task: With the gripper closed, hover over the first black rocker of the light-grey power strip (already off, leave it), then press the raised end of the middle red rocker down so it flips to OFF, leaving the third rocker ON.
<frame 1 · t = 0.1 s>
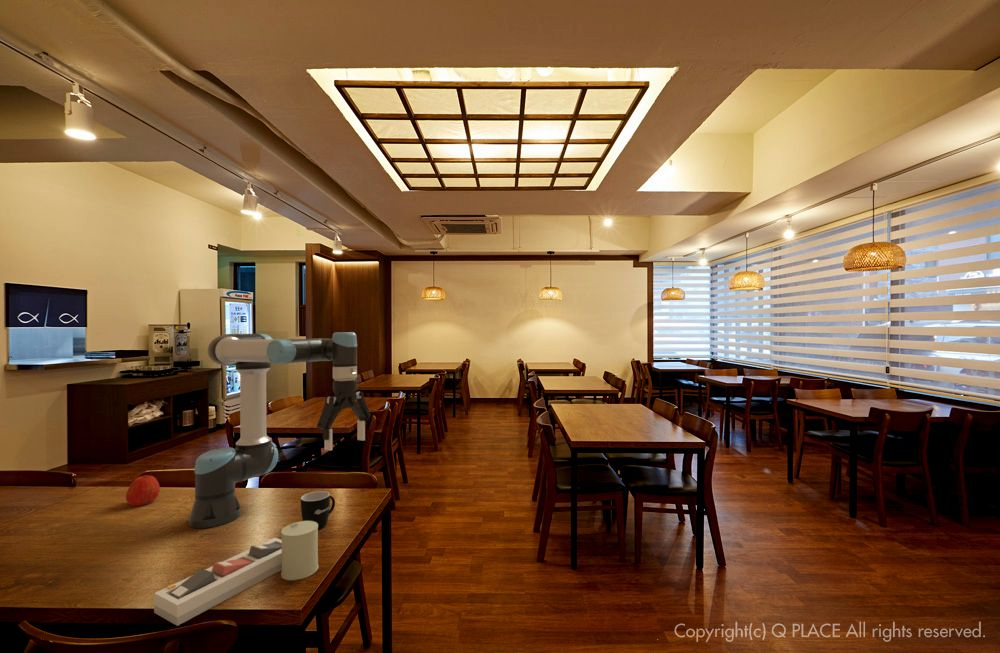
hand: (345, 444, 139), 28 cm above the table, fingers open, 13 cm apart
rocker mid: (233, 566, 110), point 5 cm above the table, hinge at 18.0°
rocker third: (267, 549, 118), point 5 cm above the table, hinge at 18.0°
can: (300, 571, 116), on the table
apple: (143, 503, 165), on the table
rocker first: (192, 585, 102), point 5 cm above the table, hinge at -18.0°
strip: (233, 584, 110), on the table
mug: (319, 525, 144), on the table
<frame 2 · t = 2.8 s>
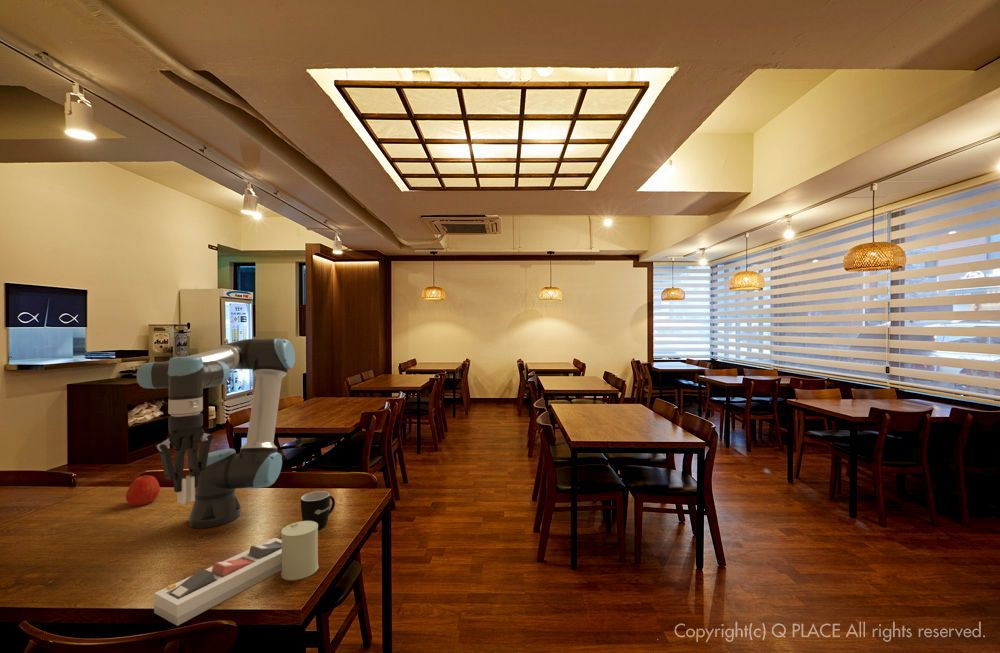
hand: (186, 501, 115), 19 cm above the table, fingers closed
nothing on the table moved.
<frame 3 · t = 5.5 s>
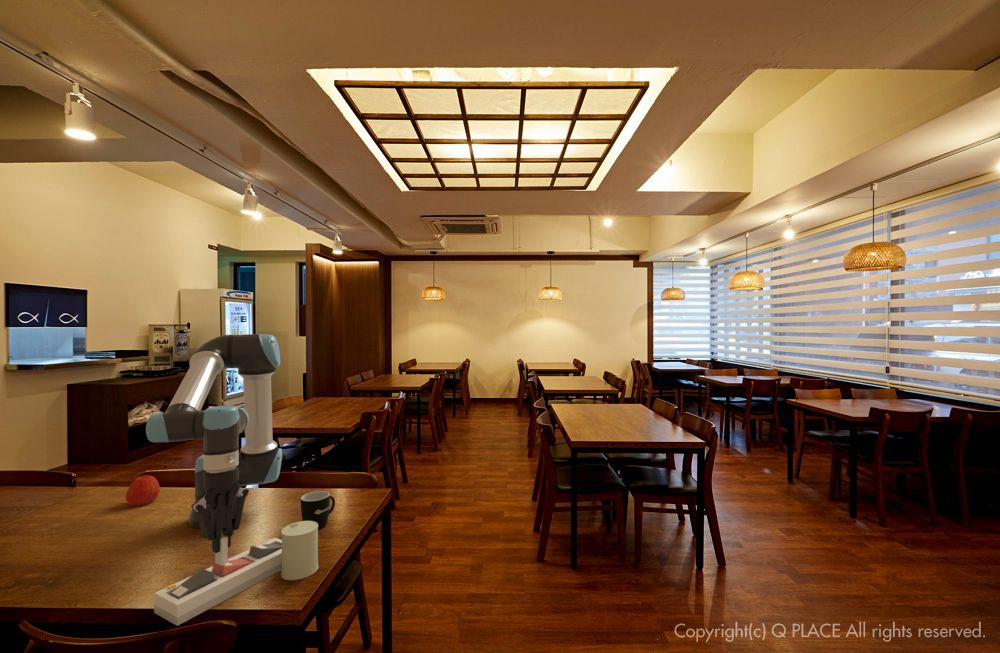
hand: (221, 562, 107), 7 cm above the table, fingers closed
rocker mid: (233, 566, 110), point 5 cm above the table, hinge at 18.0°, touching gripper
everything else where it was.
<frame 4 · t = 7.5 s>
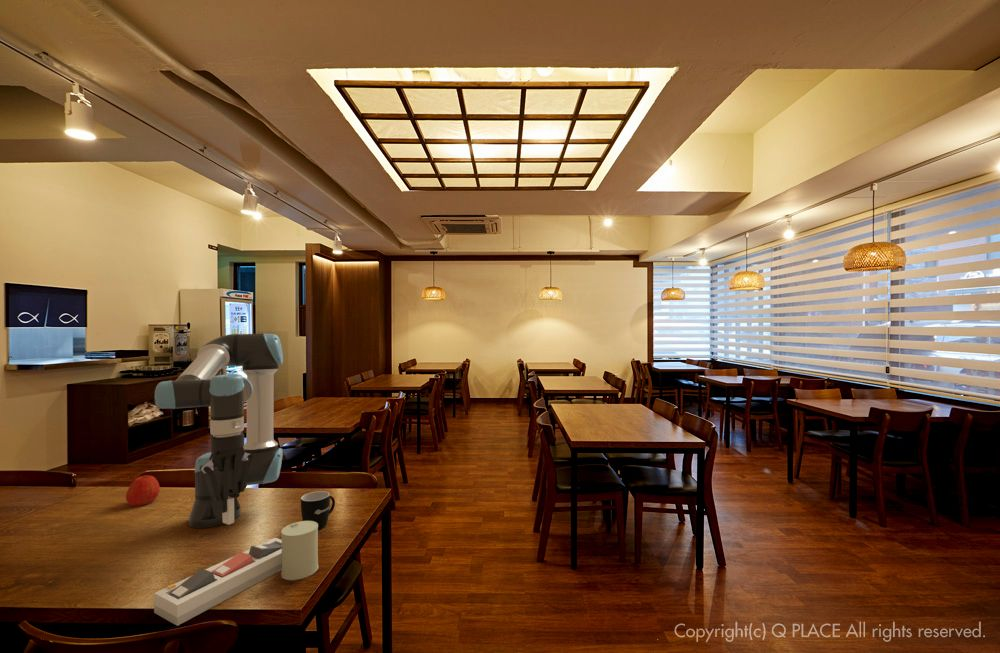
hand: (228, 522, 113), 14 cm above the table, fingers closed
rocker mid: (232, 566, 110), point 5 cm above the table, hinge at -12.0°
everything else where it was.
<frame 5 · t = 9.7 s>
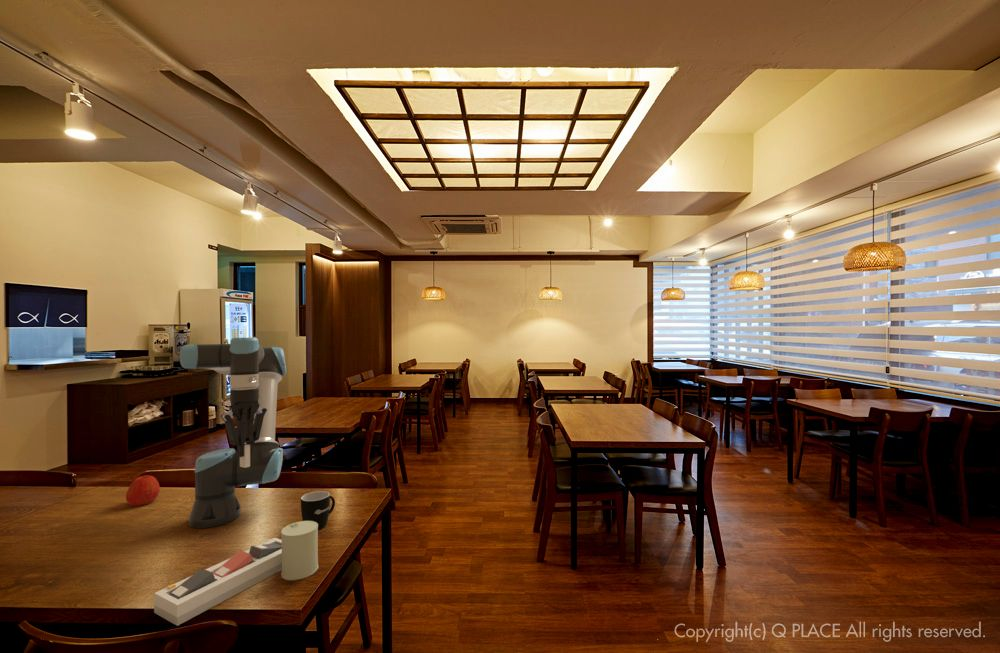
hand: (244, 466, 129), 24 cm above the table, fingers closed
rocker mid: (232, 566, 110), point 5 cm above the table, hinge at -20.6°
everything else where it was.
at the end: rocker mid at -21° (first picture: +18°); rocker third at +18° (first picture: +18°); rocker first at -18° (first picture: -18°) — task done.
